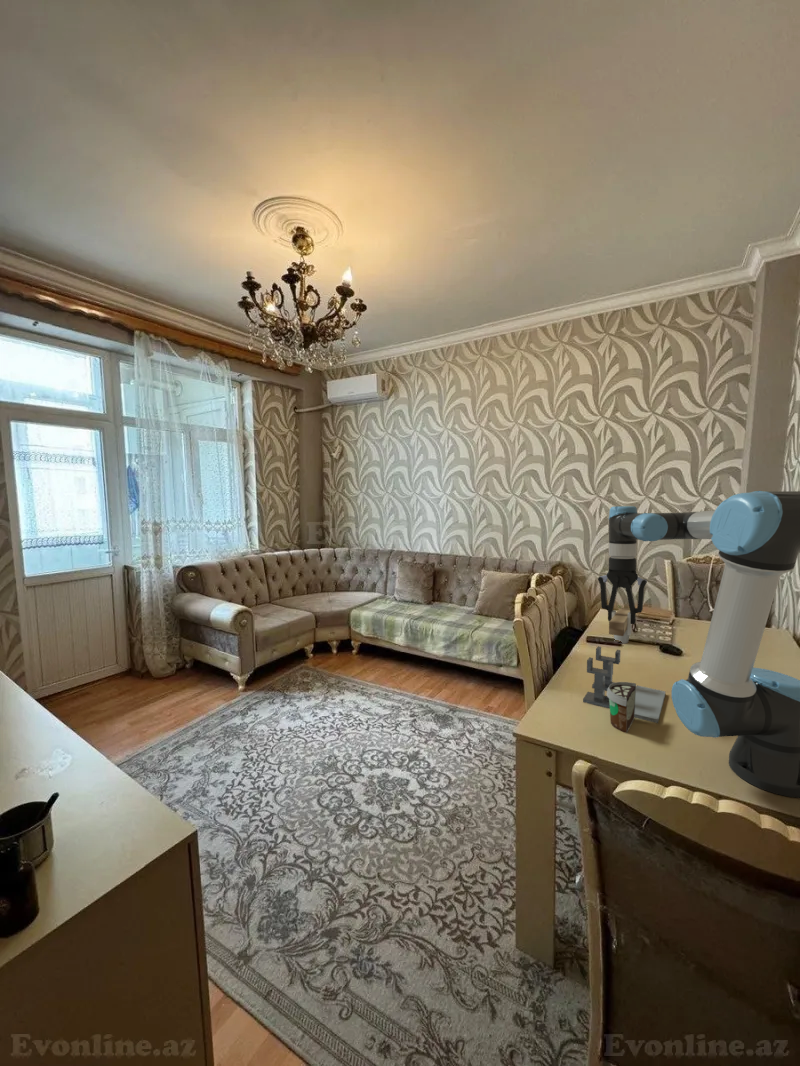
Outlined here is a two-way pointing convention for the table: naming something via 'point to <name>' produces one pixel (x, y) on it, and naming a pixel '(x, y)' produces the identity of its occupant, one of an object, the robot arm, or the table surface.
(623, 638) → the house plant
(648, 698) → the mat
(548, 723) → the table surface
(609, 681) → the post far
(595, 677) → the post near
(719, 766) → the table surface
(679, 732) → the table surface
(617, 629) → the rail
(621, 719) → the food container
